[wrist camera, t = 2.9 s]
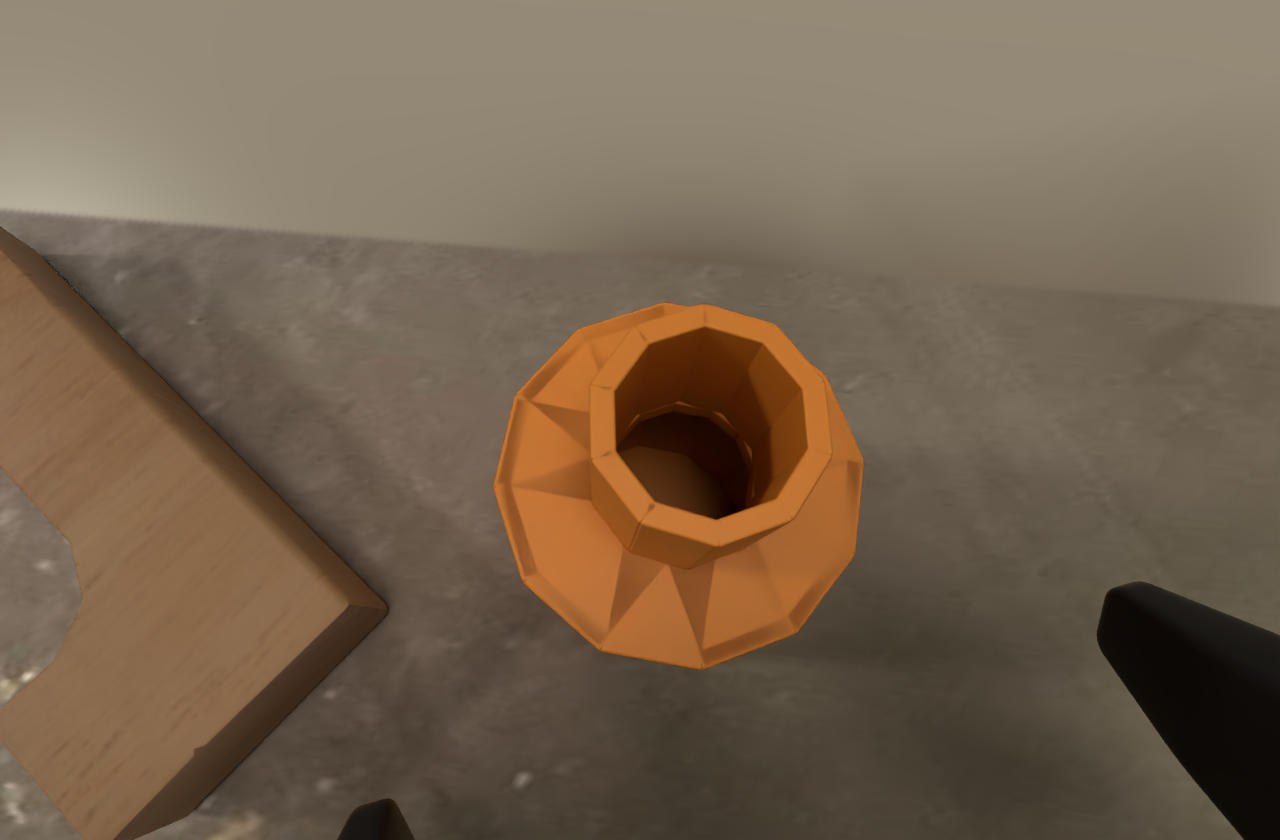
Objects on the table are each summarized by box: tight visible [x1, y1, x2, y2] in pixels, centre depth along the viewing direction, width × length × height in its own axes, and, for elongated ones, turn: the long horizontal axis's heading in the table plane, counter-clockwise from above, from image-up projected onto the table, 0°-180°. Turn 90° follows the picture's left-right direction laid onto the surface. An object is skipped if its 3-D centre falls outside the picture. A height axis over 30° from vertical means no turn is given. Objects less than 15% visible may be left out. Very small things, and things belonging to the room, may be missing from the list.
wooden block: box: [0, 227, 387, 840], centre depth 18 cm, size 7×3×15 cm
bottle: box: [494, 303, 864, 670], centre depth 14 cm, size 6×6×12 cm
